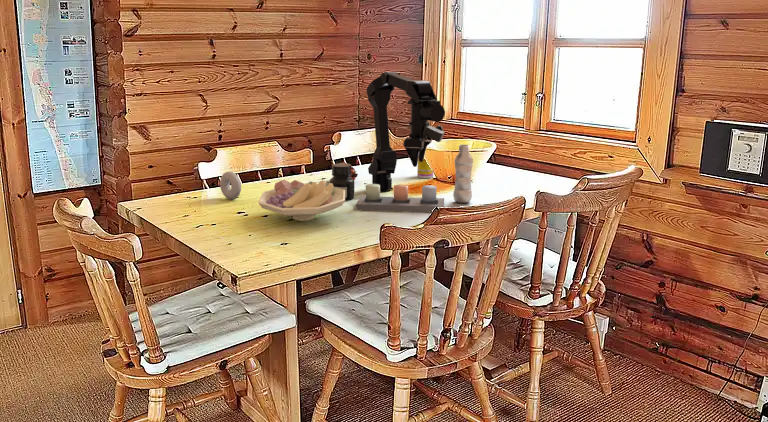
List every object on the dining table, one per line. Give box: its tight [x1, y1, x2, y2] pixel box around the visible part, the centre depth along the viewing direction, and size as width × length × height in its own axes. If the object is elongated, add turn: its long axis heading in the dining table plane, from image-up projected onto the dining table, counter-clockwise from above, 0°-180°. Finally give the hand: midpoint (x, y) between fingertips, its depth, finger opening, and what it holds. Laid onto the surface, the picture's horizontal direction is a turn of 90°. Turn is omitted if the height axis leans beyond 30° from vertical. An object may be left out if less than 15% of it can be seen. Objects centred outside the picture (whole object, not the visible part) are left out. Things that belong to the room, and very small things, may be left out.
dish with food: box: [258, 179, 346, 222], centre depth 214 cm, size 28×28×14 cm
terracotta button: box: [393, 184, 409, 201], centre depth 229 cm, size 5×5×4 cm
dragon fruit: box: [341, 162, 359, 181], centre depth 267 cm, size 8×8×12 cm
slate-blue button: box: [421, 184, 438, 201], centre depth 228 cm, size 5×5×4 cm
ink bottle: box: [328, 162, 355, 201], centre depth 240 cm, size 10×9×12 cm
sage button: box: [365, 183, 381, 200], centre depth 230 cm, size 5×5×4 cm
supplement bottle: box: [416, 144, 435, 179], centre depth 277 cm, size 7×7×13 cm
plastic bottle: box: [452, 144, 474, 204], centre depth 234 cm, size 6×7×20 cm
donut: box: [219, 171, 242, 200], centre depth 238 cm, size 10×4×10 cm, turn 48°
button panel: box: [355, 195, 445, 213], centre depth 230 cm, size 29×12×2 cm, turn 84°
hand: (418, 164), depth 234 cm, fingers open, 9 cm apart
